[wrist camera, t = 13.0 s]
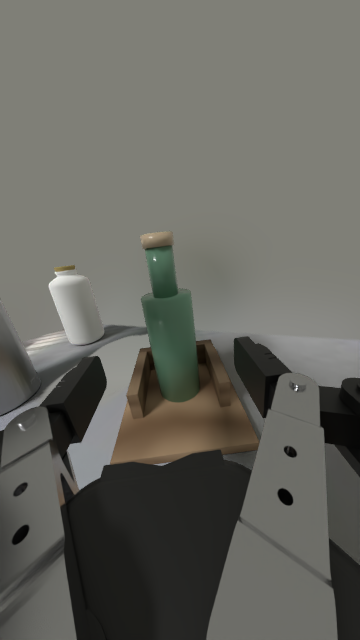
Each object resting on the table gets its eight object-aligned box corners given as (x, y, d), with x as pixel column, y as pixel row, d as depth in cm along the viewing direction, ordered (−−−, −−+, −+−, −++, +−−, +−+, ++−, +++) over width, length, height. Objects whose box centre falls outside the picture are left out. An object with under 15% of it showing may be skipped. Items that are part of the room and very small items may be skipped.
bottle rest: (259, 449, 17) (261, 414, 16) (112, 469, 17) (99, 436, 16) (214, 351, 34) (213, 330, 33) (140, 361, 34) (135, 340, 32)
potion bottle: (93, 330, 52) (73, 265, 46) (112, 334, 48) (92, 262, 41) (63, 343, 46) (35, 270, 39) (82, 350, 41) (52, 268, 35)
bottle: (173, 410, 22) (140, 232, 15) (153, 385, 26) (120, 239, 19) (209, 387, 24) (196, 228, 17) (185, 368, 29) (167, 235, 22)
